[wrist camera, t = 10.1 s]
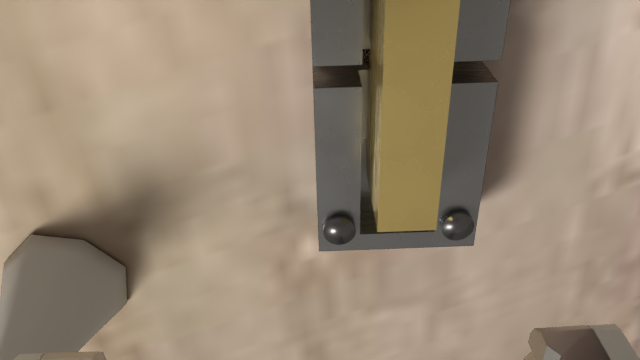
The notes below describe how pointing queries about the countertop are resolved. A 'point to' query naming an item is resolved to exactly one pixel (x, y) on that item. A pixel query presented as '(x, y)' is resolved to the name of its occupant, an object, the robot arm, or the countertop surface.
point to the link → (351, 160)
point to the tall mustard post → (408, 109)
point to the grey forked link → (354, 22)
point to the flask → (57, 295)
